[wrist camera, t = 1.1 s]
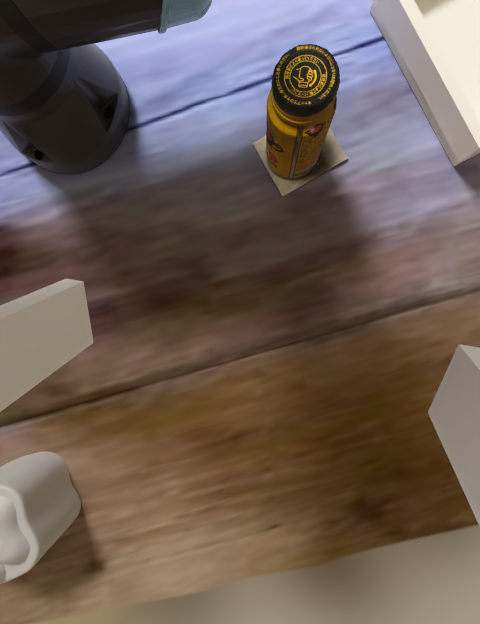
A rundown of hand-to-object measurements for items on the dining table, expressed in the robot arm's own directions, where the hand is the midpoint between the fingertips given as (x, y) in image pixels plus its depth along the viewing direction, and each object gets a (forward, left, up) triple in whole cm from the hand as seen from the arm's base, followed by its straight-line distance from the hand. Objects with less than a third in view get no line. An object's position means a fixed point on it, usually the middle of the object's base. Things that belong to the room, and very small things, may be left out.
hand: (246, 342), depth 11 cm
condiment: (-15, +13, -25) cm, 32 cm away
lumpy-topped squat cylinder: (+7, -37, -25) cm, 45 cm away
